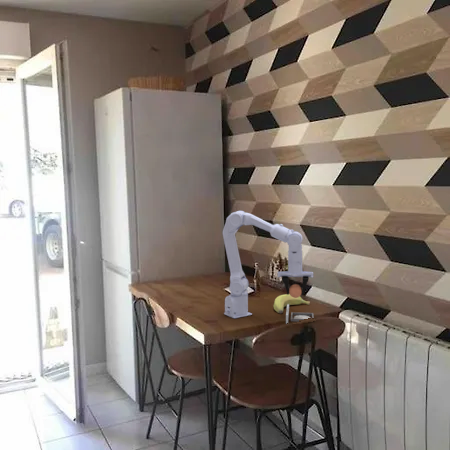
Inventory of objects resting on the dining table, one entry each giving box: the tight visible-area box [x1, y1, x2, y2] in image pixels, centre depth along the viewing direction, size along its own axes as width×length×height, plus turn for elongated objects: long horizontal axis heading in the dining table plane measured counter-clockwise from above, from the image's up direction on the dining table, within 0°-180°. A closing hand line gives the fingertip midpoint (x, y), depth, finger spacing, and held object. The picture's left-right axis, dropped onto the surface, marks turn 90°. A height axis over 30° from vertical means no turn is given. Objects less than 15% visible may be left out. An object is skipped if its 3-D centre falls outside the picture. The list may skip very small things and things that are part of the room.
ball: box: [289, 283, 302, 298], centre depth 201 cm, size 6×6×6 cm
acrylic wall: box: [285, 304, 290, 325], centre depth 202 cm, size 16×1×4 cm, turn 171°
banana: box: [273, 293, 311, 314], centre depth 217 cm, size 14×6×20 cm
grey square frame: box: [290, 311, 315, 322], centre depth 202 cm, size 9×9×1 cm
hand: (295, 294), depth 201 cm, fingers closed on ball, 5 cm apart
